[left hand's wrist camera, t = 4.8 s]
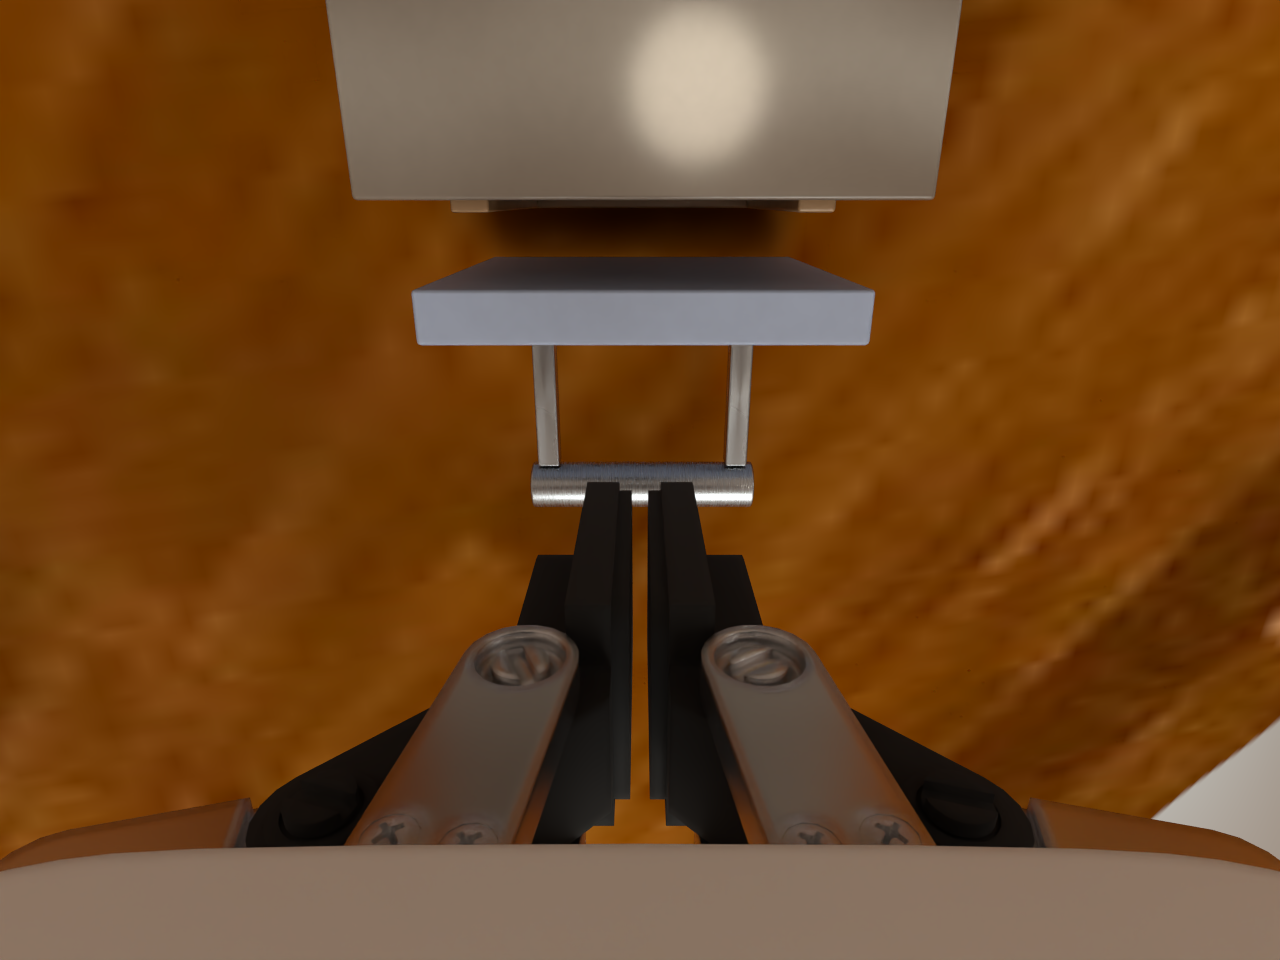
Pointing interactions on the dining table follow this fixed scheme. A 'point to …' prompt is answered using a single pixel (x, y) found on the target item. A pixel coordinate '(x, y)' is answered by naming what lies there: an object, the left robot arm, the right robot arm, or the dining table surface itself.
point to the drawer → (642, 332)
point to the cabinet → (643, 98)
